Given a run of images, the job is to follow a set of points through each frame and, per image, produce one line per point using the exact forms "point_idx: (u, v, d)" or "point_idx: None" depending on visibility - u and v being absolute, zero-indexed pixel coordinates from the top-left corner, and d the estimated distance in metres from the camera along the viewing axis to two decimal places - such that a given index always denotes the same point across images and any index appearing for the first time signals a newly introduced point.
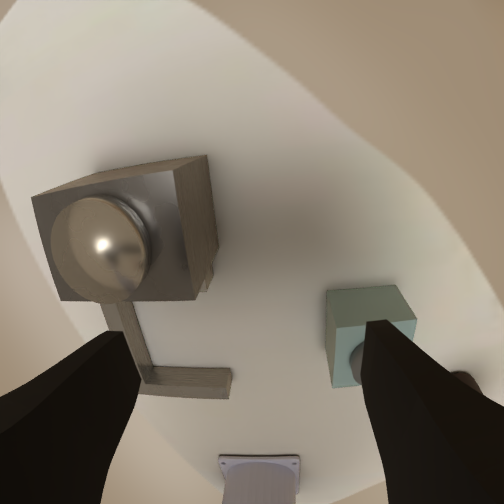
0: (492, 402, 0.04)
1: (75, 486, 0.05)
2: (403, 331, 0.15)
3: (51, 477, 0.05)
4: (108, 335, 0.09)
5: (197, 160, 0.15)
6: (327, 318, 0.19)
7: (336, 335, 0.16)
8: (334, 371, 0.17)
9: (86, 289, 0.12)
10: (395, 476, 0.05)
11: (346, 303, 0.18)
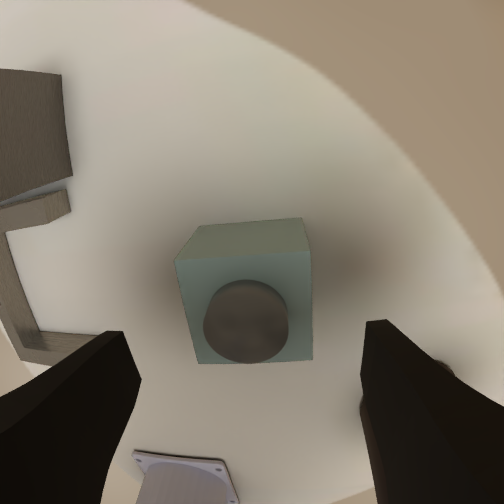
0: (492, 402, 0.04)
1: (75, 486, 0.05)
2: (289, 272, 0.10)
3: (51, 477, 0.05)
4: (109, 335, 0.09)
5: (33, 72, 0.10)
6: None
7: (178, 274, 0.11)
8: (192, 335, 0.12)
9: None
10: (395, 476, 0.05)
11: (212, 236, 0.13)
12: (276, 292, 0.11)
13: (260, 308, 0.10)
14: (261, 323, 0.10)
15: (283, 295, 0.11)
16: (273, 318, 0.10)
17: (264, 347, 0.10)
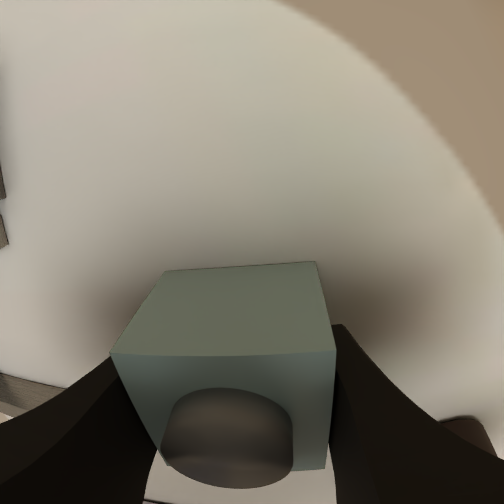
0: (431, 420, 0.04)
1: (119, 499, 0.05)
2: (298, 380, 0.06)
3: (96, 493, 0.04)
4: None
5: None
6: None
7: (119, 370, 0.06)
8: (154, 440, 0.07)
9: None
10: (340, 485, 0.05)
11: (178, 298, 0.08)
12: (276, 405, 0.06)
13: (248, 442, 0.05)
14: (250, 456, 0.05)
15: (285, 407, 0.06)
16: (269, 452, 0.05)
17: (255, 477, 0.06)
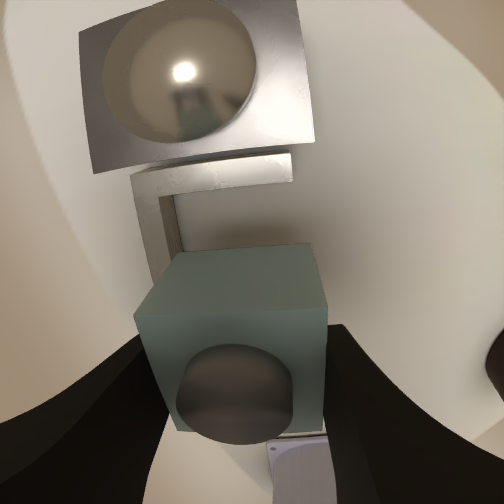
0: (432, 420, 0.04)
1: (118, 499, 0.05)
2: (296, 336, 0.07)
3: (95, 493, 0.04)
4: None
5: None
6: None
7: (141, 331, 0.07)
8: (167, 402, 0.08)
9: (150, 123, 0.08)
10: (340, 485, 0.05)
11: (191, 272, 0.09)
12: (277, 360, 0.07)
13: (253, 389, 0.07)
14: (255, 405, 0.07)
15: (286, 363, 0.07)
16: (272, 400, 0.07)
17: (259, 430, 0.07)
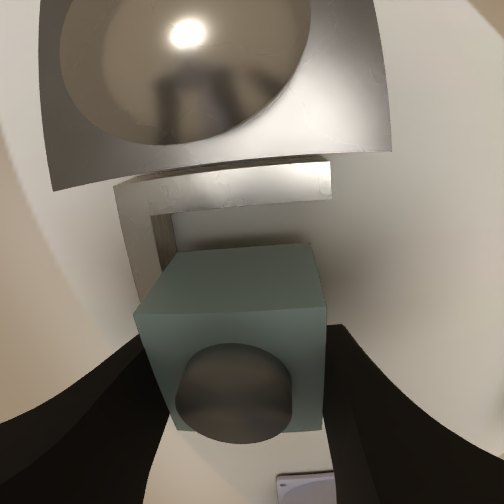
0: (431, 420, 0.04)
1: (119, 499, 0.05)
2: (295, 335, 0.07)
3: (96, 493, 0.04)
4: None
5: None
6: None
7: (140, 331, 0.07)
8: (166, 402, 0.08)
9: (128, 111, 0.05)
10: (340, 485, 0.05)
11: (191, 272, 0.09)
12: (276, 360, 0.07)
13: (253, 388, 0.07)
14: (255, 405, 0.07)
15: (285, 362, 0.07)
16: (271, 399, 0.07)
17: (259, 429, 0.07)
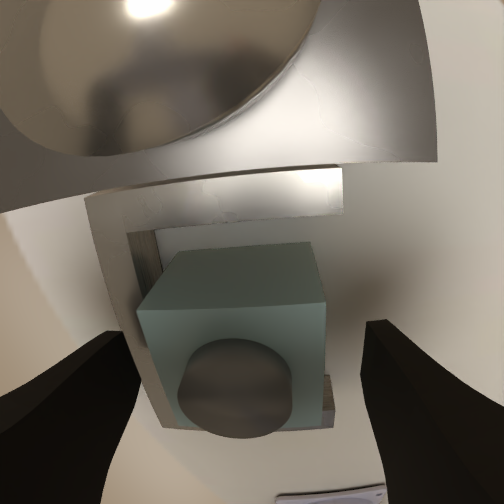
0: (492, 402, 0.04)
1: (75, 486, 0.05)
2: (295, 330, 0.07)
3: (51, 477, 0.05)
4: (108, 335, 0.09)
5: None
6: None
7: (143, 326, 0.08)
8: (168, 397, 0.09)
9: (58, 107, 0.03)
10: (395, 476, 0.05)
11: (193, 269, 0.09)
12: (276, 355, 0.08)
13: (254, 382, 0.07)
14: (255, 399, 0.07)
15: (285, 357, 0.08)
16: (272, 394, 0.07)
17: (259, 423, 0.07)
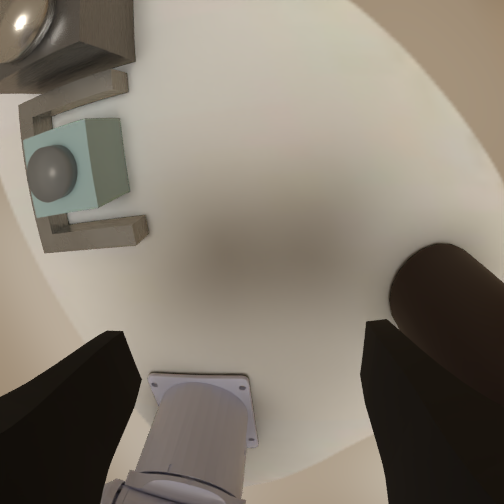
0: (492, 402, 0.04)
1: (75, 486, 0.05)
2: (75, 136, 0.13)
3: (51, 477, 0.05)
4: (109, 335, 0.09)
5: None
6: None
7: (25, 149, 0.13)
8: (32, 193, 0.14)
9: None
10: (395, 476, 0.05)
11: None
12: (69, 152, 0.13)
13: (50, 155, 0.13)
14: (52, 166, 0.13)
15: (73, 153, 0.13)
16: (57, 162, 0.13)
17: (55, 186, 0.13)
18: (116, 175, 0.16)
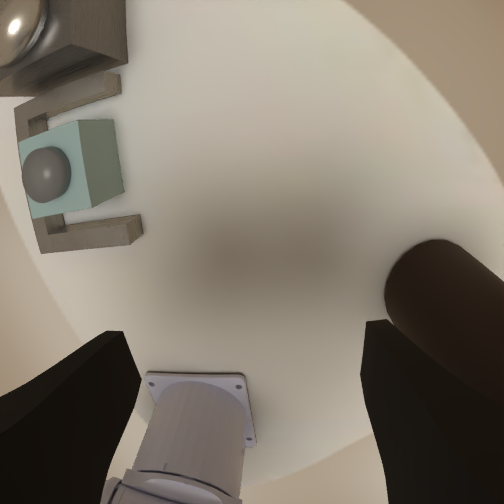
0: (492, 402, 0.04)
1: (75, 486, 0.05)
2: (68, 137, 0.13)
3: (51, 477, 0.05)
4: (108, 334, 0.09)
5: None
6: None
7: (20, 151, 0.14)
8: (27, 195, 0.14)
9: None
10: (395, 476, 0.05)
11: None
12: (63, 152, 0.13)
13: (44, 157, 0.13)
14: (46, 168, 0.13)
15: (66, 154, 0.13)
16: (51, 163, 0.13)
17: (49, 187, 0.13)
18: (110, 175, 0.16)
